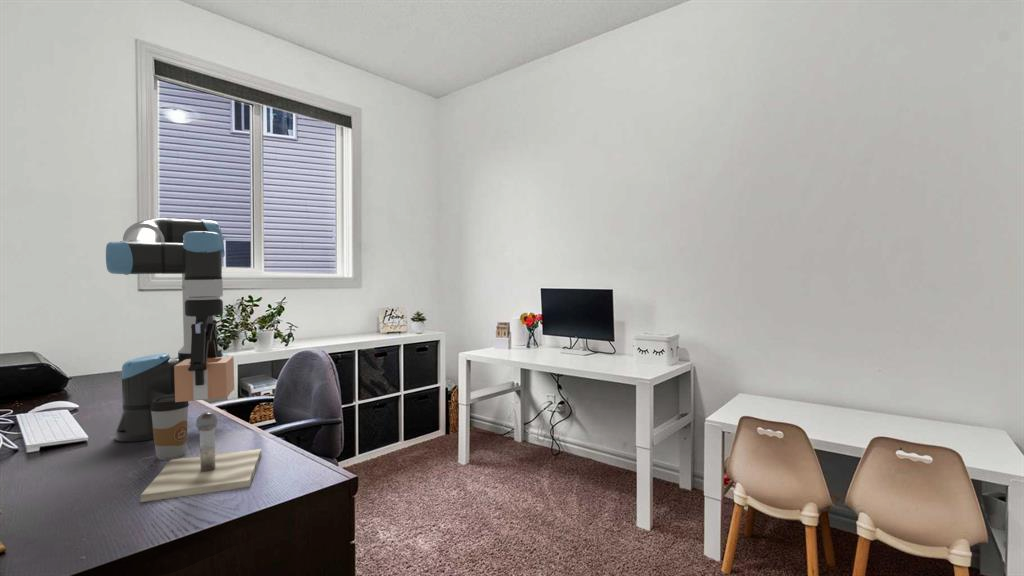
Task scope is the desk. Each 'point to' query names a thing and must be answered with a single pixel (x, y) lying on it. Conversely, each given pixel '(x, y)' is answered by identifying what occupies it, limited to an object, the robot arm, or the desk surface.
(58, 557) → the desk surface
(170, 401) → the coffee cup
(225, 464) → the wooden peg stand
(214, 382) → the open top tan bin
